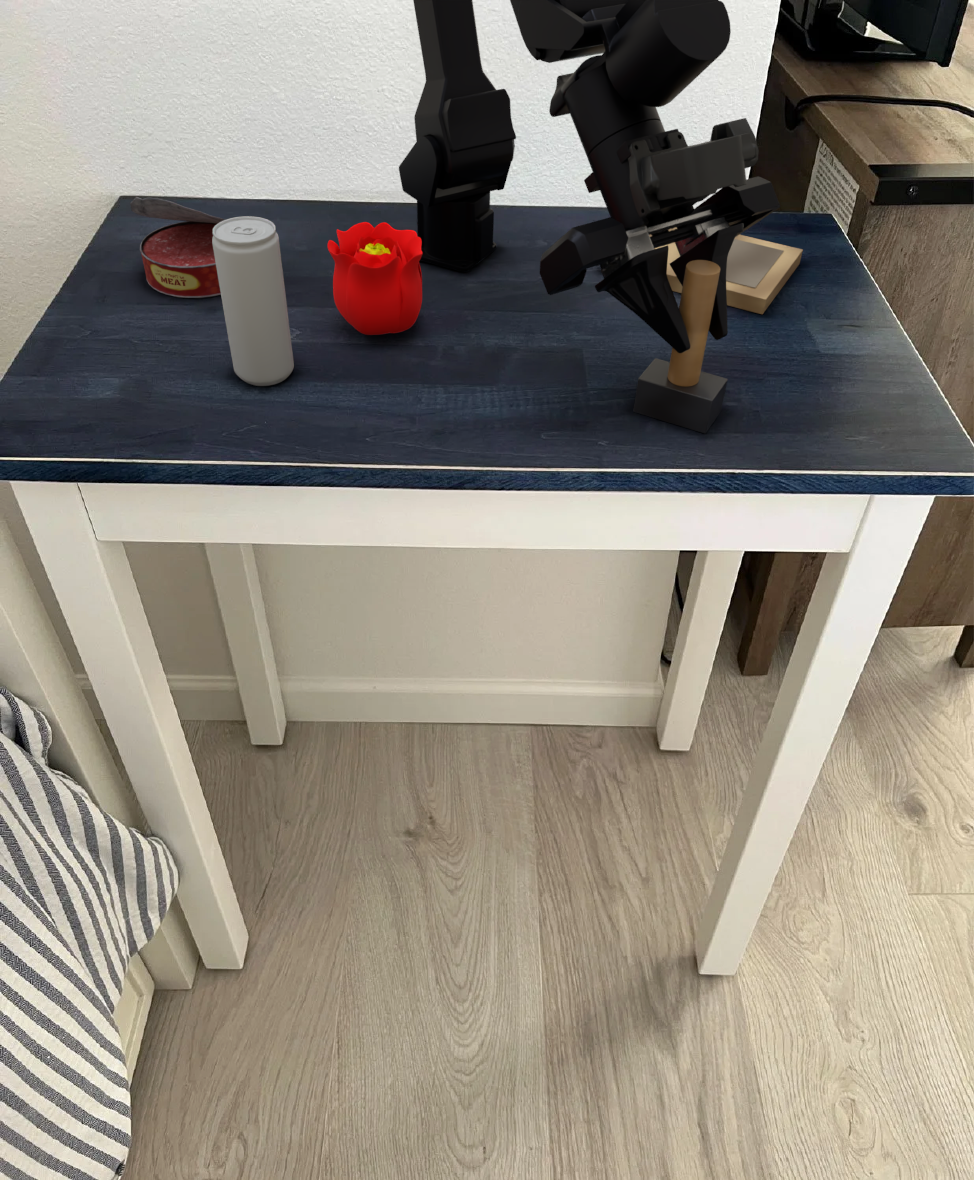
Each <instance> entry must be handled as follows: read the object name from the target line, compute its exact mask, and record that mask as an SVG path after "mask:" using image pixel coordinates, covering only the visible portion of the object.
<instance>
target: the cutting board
mask: <svg viewBox="0 0 974 1180" xmlns="http://www.w3.org/2000/svg"><path fill="white" fill-rule="evenodd" d="M675 229H677V228H673V229H669V230H668V231H671V230H675ZM649 236H650V237H651V236H652V235H651V234H650V235H649ZM664 246H667V245H664ZM664 246H661V247H664ZM661 247H658V248H661ZM668 248H669V250H668V262H667V278H668V281H669V283H670V286H671V289H672V291H673V292H675V293H679V294H681V293H682V285H681V283H680V282H679V280H678V278H677V276H676V275H675V273H674V271H673V269H672V268H671V266H670V263H671V262H673V261H674V260H676V259H677V258H679V257H680V254H679V252H678V249H677V247H676V244H675V242H674V243H671V244H668ZM654 249H657V248H654ZM803 251H804V249H802V248H799V247H795V246H789V245H785V244H781V243H777V242H772V241H769V240H764V239H760V238H755V237H752V236H747V235H743V234H739V235H738V236H736V237H735V239H734V241H733V243H732V246H731V248H730V251H729V253H728V257H727V269H726V294H727V307H733V308H736V309H740V310H744V311H747V312H751V313H756V314H760V315H763V314H764V313H765V312H766V311H767V310H768V308H769V306H770V305H771V304H772V302H773V301H774V299H775V298H776V297H777V295H779V293H780V292H781V290H782V289H783V287H784V286H785V285H786V283H787V282H788V280H789V279H790V278H791V276H792V275H793V274H794V272H795V271H796V270H797V268H798V267H799V265H800V264H801V259H802V257H803V256H802V255H803Z"/></svg>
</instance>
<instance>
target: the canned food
mask: <svg viewBox="0 0 974 1180" xmlns="http://www.w3.org/2000/svg"><path fill="white" fill-rule="evenodd" d="M129 205H130V209H131V212H132V213H134V214H135V215H137V216H142V217H146V218H149V219H150V218H152V219H161V220H168V221H177V222H175V223H171V224H167V225H164V226H161V227H159V228H157V229H154V230H153V231H151V232H149V233H147V234H146V235H145V236H144V238H143V239H142V240H141V242H140V244H139V252H140V254H141V259H142V264H143V268H144V273H145V279H146V282H147V284H148V285H149V286H150V287H151V289H153V290H155V291H156V292H158V293H161V294H162V295H166V296H170V297H174V298H181V299H183V298H184V299H203V298H211V297H216V296H221V292H220V286H219V280H218V274H217V268H216V262H215V256H214V250H213V244H212V238H213V228H214V226H215V225H217V224H218V223H219V222H222V221H224V220H226V219H225V218H222V217H218V216H215V215H211V214H209V213H205V212H204V211H200V210H198V209H193V208H190V207H187V206H183V205H181V204H179V203H176V202H173V201H170V200H166V199H162V198H157V197H145V198H140V197H138V196H135V198H133V200H132V201H131V202H130V204H129ZM179 221H180V222H179Z"/></svg>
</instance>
